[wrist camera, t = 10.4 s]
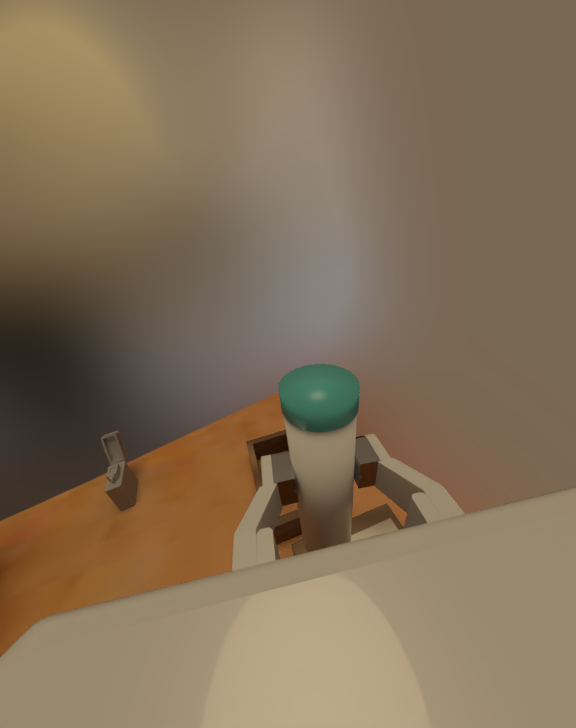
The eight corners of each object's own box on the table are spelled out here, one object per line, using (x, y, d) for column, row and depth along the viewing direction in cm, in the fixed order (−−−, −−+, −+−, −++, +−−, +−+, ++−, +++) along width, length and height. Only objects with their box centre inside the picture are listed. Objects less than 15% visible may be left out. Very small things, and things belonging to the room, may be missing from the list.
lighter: (135, 504, 30) (106, 465, 26) (120, 511, 30) (88, 472, 26) (139, 464, 36) (116, 427, 32) (126, 469, 35) (102, 432, 31)
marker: (360, 565, 14) (378, 392, 8) (317, 590, 14) (296, 421, 7) (335, 517, 17) (332, 357, 11) (296, 536, 16) (268, 376, 10)
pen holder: (324, 523, 26) (324, 507, 25) (269, 547, 25) (265, 530, 23) (290, 444, 37) (288, 428, 35) (250, 457, 35) (246, 441, 33)
